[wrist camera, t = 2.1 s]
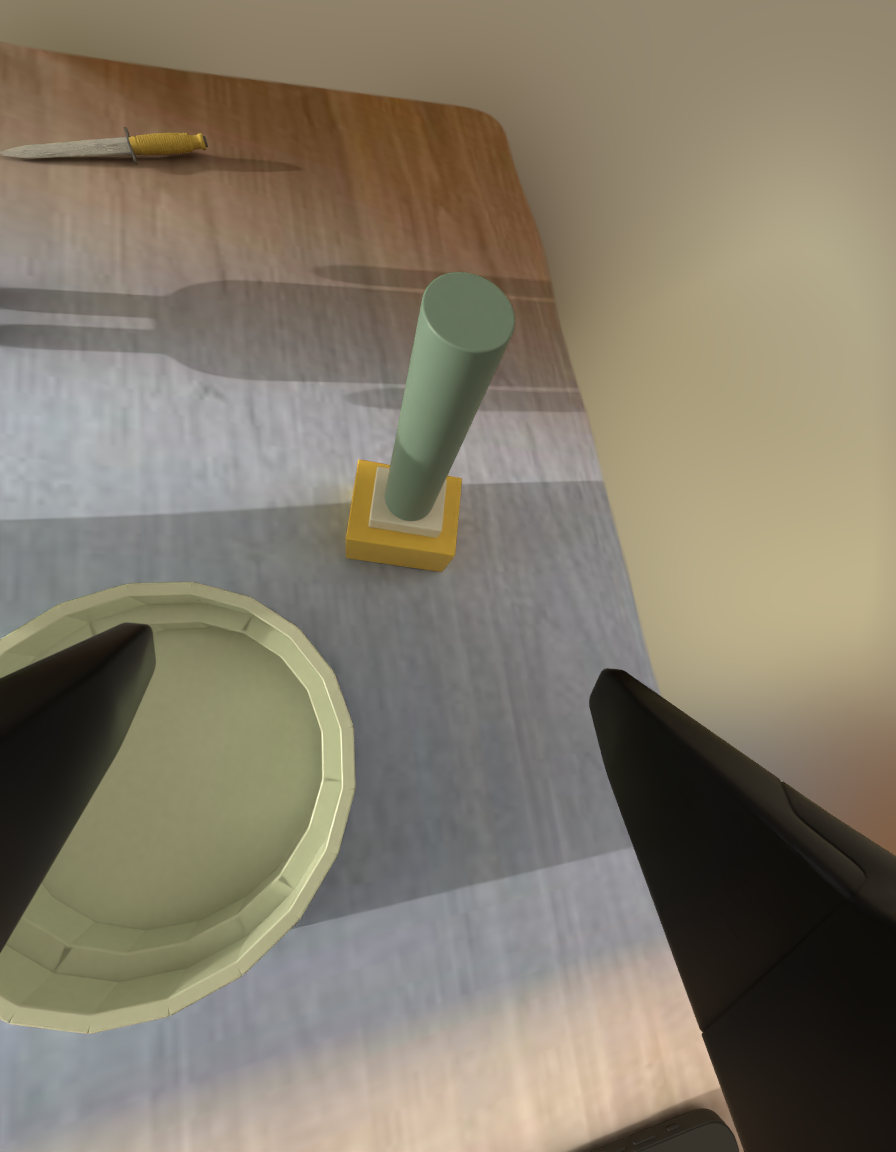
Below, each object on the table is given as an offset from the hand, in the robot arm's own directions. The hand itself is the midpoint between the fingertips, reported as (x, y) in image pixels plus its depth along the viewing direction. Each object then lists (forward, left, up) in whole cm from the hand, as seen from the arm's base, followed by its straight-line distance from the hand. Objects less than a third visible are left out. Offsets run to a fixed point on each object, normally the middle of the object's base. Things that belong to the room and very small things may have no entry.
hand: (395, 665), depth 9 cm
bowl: (0, +8, -13) cm, 16 cm away
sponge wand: (+7, -4, -13) cm, 16 cm away
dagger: (+33, +3, -13) cm, 36 cm away
